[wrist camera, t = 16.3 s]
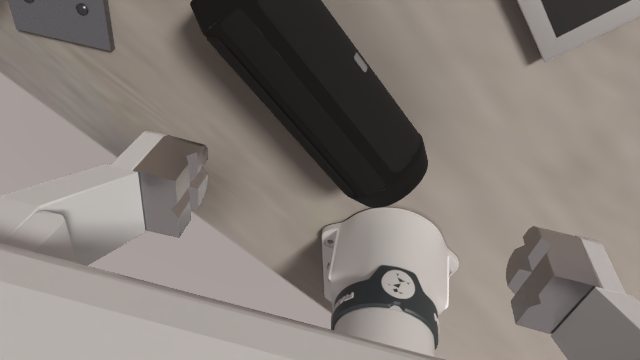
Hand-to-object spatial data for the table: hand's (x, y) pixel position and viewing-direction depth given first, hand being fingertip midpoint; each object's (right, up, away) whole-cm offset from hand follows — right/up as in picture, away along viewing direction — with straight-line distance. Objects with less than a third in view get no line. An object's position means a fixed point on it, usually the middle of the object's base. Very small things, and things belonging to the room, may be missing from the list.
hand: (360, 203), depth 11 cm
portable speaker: (0, +12, +34) cm, 36 cm away
